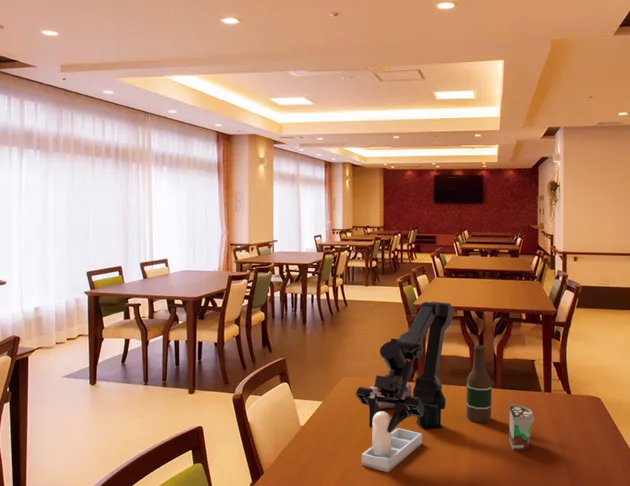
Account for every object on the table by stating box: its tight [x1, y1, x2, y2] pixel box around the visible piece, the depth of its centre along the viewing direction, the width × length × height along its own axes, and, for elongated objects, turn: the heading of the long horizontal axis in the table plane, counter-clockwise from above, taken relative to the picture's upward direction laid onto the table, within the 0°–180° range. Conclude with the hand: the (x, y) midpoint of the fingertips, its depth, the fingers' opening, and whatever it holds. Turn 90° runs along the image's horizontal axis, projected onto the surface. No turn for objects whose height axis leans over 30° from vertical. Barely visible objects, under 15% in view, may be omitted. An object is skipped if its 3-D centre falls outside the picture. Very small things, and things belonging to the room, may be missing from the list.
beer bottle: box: [465, 344, 493, 423], centre depth 189 cm, size 8×8×24 cm
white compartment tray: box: [361, 427, 423, 473], centre depth 162 cm, size 22×8×3 cm, turn 147°
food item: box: [369, 381, 412, 410], centre depth 201 cm, size 14×8×10 cm, turn 101°
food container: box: [508, 403, 535, 452], centre depth 168 cm, size 12×6×10 cm, turn 168°
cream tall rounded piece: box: [371, 410, 392, 456], centre depth 155 cm, size 5×5×11 cm
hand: (379, 429), depth 154 cm, fingers closed on cream tall rounded piece, 5 cm apart
